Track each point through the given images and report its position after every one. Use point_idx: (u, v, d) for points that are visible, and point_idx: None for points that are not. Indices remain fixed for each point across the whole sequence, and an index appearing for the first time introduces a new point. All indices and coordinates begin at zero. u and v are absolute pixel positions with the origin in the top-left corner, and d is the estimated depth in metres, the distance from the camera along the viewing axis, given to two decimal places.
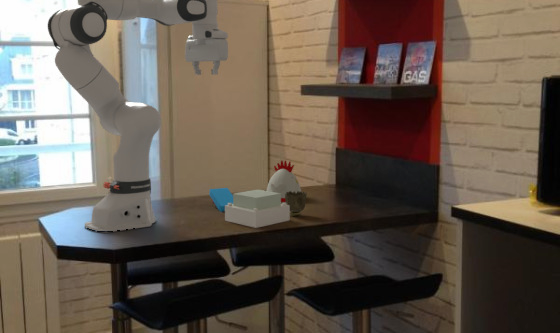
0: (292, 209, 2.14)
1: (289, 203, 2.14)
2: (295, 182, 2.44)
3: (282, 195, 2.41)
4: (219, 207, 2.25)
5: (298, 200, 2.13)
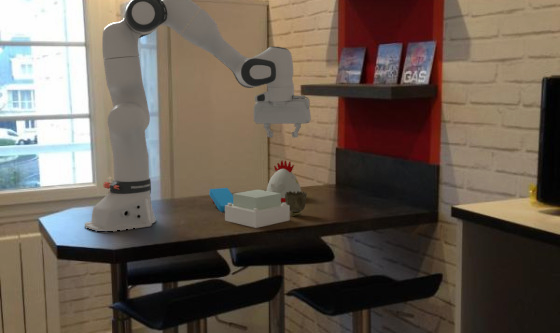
0: (292, 209, 2.14)
1: (289, 203, 2.14)
2: (295, 182, 2.44)
3: (282, 195, 2.41)
4: (219, 207, 2.25)
5: (298, 200, 2.13)
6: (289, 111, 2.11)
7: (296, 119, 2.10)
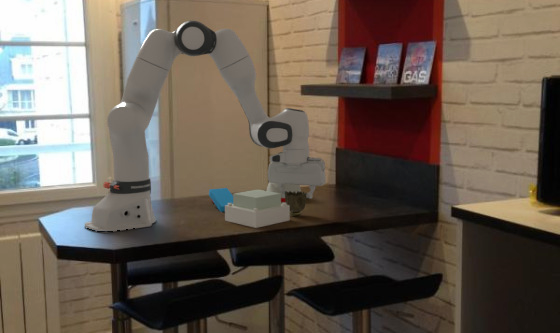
0: (292, 209, 2.14)
1: (289, 203, 2.14)
2: None
3: None
4: (219, 207, 2.25)
5: (298, 200, 2.13)
6: (304, 173, 2.12)
7: (311, 181, 2.11)
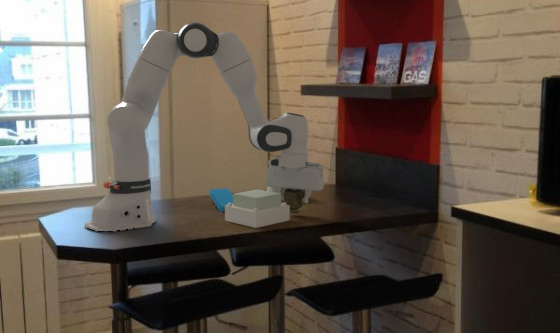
0: (290, 206, 2.14)
1: (287, 200, 2.14)
2: None
3: None
4: (220, 207, 2.25)
5: (297, 197, 2.13)
6: (302, 177, 2.12)
7: (309, 186, 2.11)
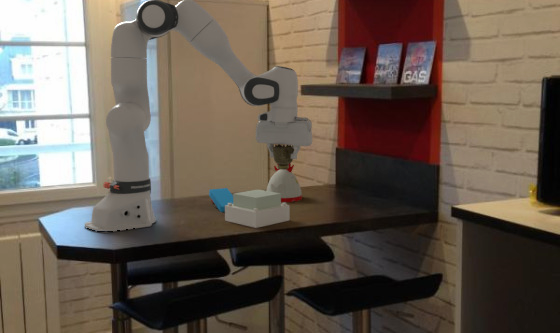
0: (278, 161, 2.10)
1: (276, 155, 2.10)
2: (295, 182, 2.44)
3: (282, 195, 2.41)
4: (220, 207, 2.25)
5: (285, 153, 2.09)
6: (291, 132, 2.08)
7: (297, 141, 2.07)
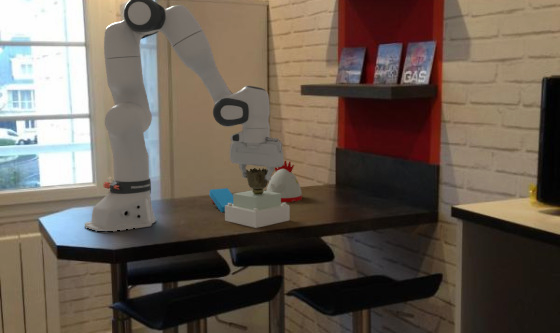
0: (252, 186, 2.06)
1: (249, 180, 2.06)
2: (295, 182, 2.44)
3: (282, 195, 2.41)
4: (220, 208, 2.24)
5: (258, 177, 2.05)
6: (262, 153, 2.03)
7: (268, 162, 2.02)
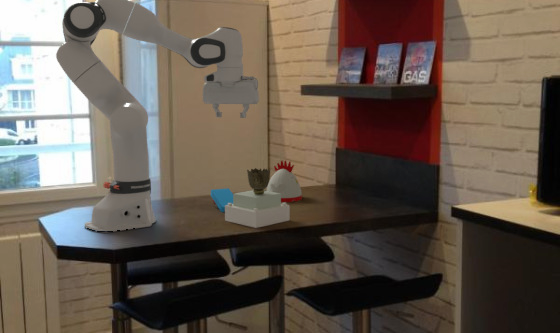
0: (253, 186, 2.06)
1: (250, 180, 2.06)
2: (295, 182, 2.44)
3: (282, 195, 2.41)
4: (221, 208, 2.24)
5: (259, 178, 2.04)
6: (238, 91, 2.13)
7: (244, 100, 2.12)
